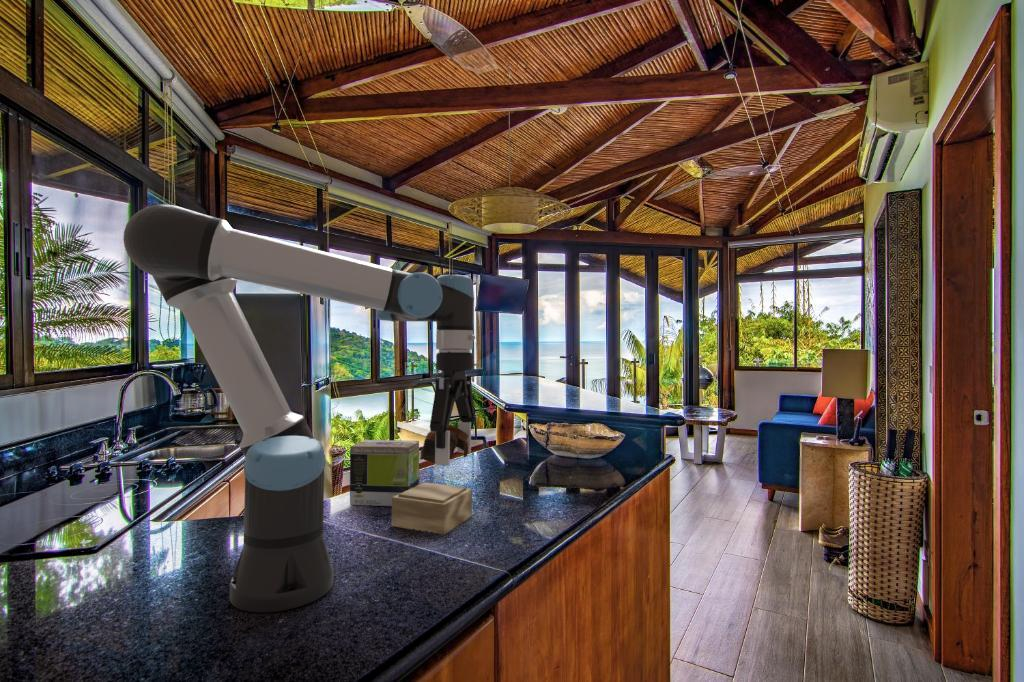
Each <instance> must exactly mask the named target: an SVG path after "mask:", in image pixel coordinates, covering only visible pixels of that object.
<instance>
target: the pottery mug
mask: <svg viewBox="0 0 1024 682" xmlns="http://www.w3.org/2000/svg"><path fill="white" fill-rule="evenodd" d="M447 431H450V460H452V458H453V456H454V452H455V449H456V448H458V447H459V448H461V449H462V450H463V451H464V453H463V457H464V458H466V457H467V456H468V454H469V453H468V443H467V439H468V435H467V434H466V433H465V432H463V431H462V430H460V429H458V427H456V426H453V425H450V424H449V426H448V430H447ZM421 460H424V461H426V462H430V463H433V464H435V431H431V430H430V431H429V432H428V433H427V434H426V435H425V439H424V442H423V447H422V449H421V450H420V456H419V461H421Z"/></svg>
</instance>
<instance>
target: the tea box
mask: <svg viewBox="0 0 1024 682" xmlns="http://www.w3.org/2000/svg"><path fill="white" fill-rule="evenodd" d="M349 461H350V462H349V505H350V506H370V505H371V506H374V507H377V506H379V507H392V497H394V496H396V495H398V494H400V493H402V492H405V491H407V490H409V489H411V488H413V487H416V486H418V485H420V441H419V440H391V439H390V440H386V439H384V440H383V439H382V440H381V439H378V440H377V439H364V440H362V441H360V442H357V443H355V444H353V445H350V449H349Z"/></svg>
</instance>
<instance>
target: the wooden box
mask: <svg viewBox="0 0 1024 682" xmlns="http://www.w3.org/2000/svg"><path fill="white" fill-rule="evenodd" d="M472 505H473V488H467V487H466V486H465V487H464V486H456V485H449V484H448V485H447V484H440V483H432V482H426V481H424V482H422V483H419V485H418V486H416V487H413V488H411V489H409V490H407V491H405V492H402V493H400V494H398V495H396V496H394V497H392V506H391V527H396V528H402V529H408V530H413V529H415V530H414V531H419V530H421V531H420V532H425V531H428V532H427V533H431V532H433V533H432V534H437V533H438V534H437V535H443V534H444V535H446V534H448V533H449V532H451V531H452V530H454V529H455V528H456V527H458V526H459V525H461V524H462V523H464V522H465V521H467V520H468V519H470V518H471V517H472V516H473V515H472V512H473V511H472V510H473V507H472Z"/></svg>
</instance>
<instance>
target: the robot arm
mask: <svg viewBox="0 0 1024 682" xmlns="http://www.w3.org/2000/svg"><path fill="white" fill-rule="evenodd" d="M123 245H124V248H125V251H126V254H127V256H128V257H129V259H130V260H131V262H132V263H134V265H135V266H137V267H138V268H139V269H140V270H141V271H142V272H145V273H147V274H149V275H151V276H152V278H153V280H154V282H155V283H156V285H157V288H158V290H159V292H160V293H161V295H162V297H163V300H164V301H165V303H166V304H167V306H169V307H172V308H175V309H177V310H180V311H181V313H182V315H183V316H184V318H185V320H186V322H187V324H188V326H189V328H190V330H191V332H192V334H193V336H194V338H195V340H196V342H197V343H198V346H199V348H200V350H201V353H202V354H203V356H204V358H205V360H206V362H207V364H208V366H209V368H210V369H211V371H212V374H213V376H214V378H215V380H216V382H217V383H218V386H219V388H220V390H221V391H222V393H223V396H224V398H225V400H226V401H227V403H228V405H229V407H230V409H231V411H232V413H233V415H234V417H235V419H236V421H237V423H238V425H239V427H240V429H241V431H242V434H243V435H242V438H241V441H240V443H239V448H240V451H241V452H242V454H243V456H244V458H245V461H244V463H243V473H244V504H243V505H244V510H243V511H244V512H243V514H244V515H243V544H242V550H241V552H240V554H239V558H238V560H237V562H236V566H235V568H234V572H233V575H232V577H231V580H230V583H229V602H230V604H231V605H232V606H233V607H234V608H236V609H239V610H241V611H245V612H249V613H273V612H282V611H288V610H291V609H296V608H299V607H304V606H305V605H308V604H310V603H313V602H315V601H317V600H319V599H321V598H323V596H325V595H327V594H328V593H329V592H330V590H331V589H332V587H333V586H334V573H335V572H334V566H333V563H332V562H331V558H330V554H329V551H328V547H327V545H326V541H325V538H324V507H325V506H324V504H325V503H324V502H325V501H324V500H325V498H324V497H325V496H324V495H325V493H324V492H325V468H326V464H327V463H326V462H327V461H326V460H327V458H326V455H325V448H324V446H323V444H322V443H321V442H320V440H317V438H315V437H314V435H313V433H312V431H311V428H310V427H309V425H308V422H307V420H306V419H305V417H304V415H302V414H299V413H296V412H293V411H292V410H291V408H290V406H289V404H288V402H287V400H286V398H285V396H284V394H283V392H282V390H281V388H280V386H279V384H278V382H277V379H276V377H275V376H274V374H273V372H272V370H271V367H270V365H269V363H268V361H267V360H266V358H265V356H264V353H263V352H262V351H263V350H262V349H261V348H260V347H261V346H260V345H259V343H258V341H257V339H256V337H255V335H254V333H253V331H252V329H251V327H250V324H249V322H248V320H247V318H246V317H245V314H244V312H243V310H242V308H241V307H240V304H239V302H238V301H237V298H236V296H235V293H234V290H235V288H236V286H237V283H238V280H239V281H244V282H248V283H253V284H257V285H262V286H267V287H271V288H275V289H281V290H284V291H289V292H294V293H299V294H302V295H307V296H312V297H318V298H322V299H326V300H331V301H334V302H340V303H345V304H350V305H355V306H359V307H362V308H368V309H373V310H375V313H376V318H377V319H378V320H380V321H384V322H385V321H387V322H388V321H389V322H393V323H394V322H428V323H430V322H431V323H434V322H435V323H436V334H435V340H436V341H435V349H436V350H438V352H437V353H436V354H435V357H436V359H435V364H436V365H435V367H436V370H437V371H439V372H440V371H441V372H443V373H442V374H443V375H442V377H441V378H440V377H436V378H435V391H434V398H433V403H432V411H431V417H430V423H429V429H430V431H435V463H434V465H435V466H450V460H451V459H450V431H447V430H448V426H449V425H450V421H451V418H452V413H453V409H454V406H455V405H456V411H457V413H458V417H459V421H457V428H458V429H460V430H462V431H463V432H465V433H466V434H467V435H468V439H467V443H468V453H467V454H471V452H472V423H475V422H476V410H475V403H474V395H473V387H472V375H471V374H466V372H470V371H472V370H473V368H474V354H473V352H471V350H473V348H474V340H475V339H476V335H474V304H475V303H474V301H475V298H474V296H475V295H474V294H475V293H474V283H473V282H474V281H473V279H472V278H471V277H469V276H467V275H462V274H442V275H439V276H438V277H437V278H436V277H434V276H433V275H431V274H429V273H427V272H420V271H418V272H412V273H411V272H408V271H403V270H399V269H394V268H392V267H388V266H382V265H379V264H375V263H371V262H366V261H363V260H358V259H355V258H351V257H348V256H343V255H340V254H336V253H331V252H328V251H327V252H326V251H324V250H319V249H315V248H311V247H307V246H304V245H300V244H296V243H292V242H287V241H283V240H280V239H275V238H272V237H267V236H263V235H259V234H255V233H251V232H247V231H244V230H243V231H242V230H238V229H234V228H233V227H232V226H231V225H230V224H229V222H228V221H227V220H225V219H223V218H219V217H218V218H217V217H215V216H211V215H207V214H205V213H204V214H203V213H202V212H201V213H200V212H198V211H194V210H191V209H187V208H184V207H181V206H177V205H172V204H154V205H150V206H146V207H144V208H142V209H140V210H139V211H137V212H136V213H134V214H133V215H132V216H131V217H130V218H129V219H128V222H127V223H126V225H125V227H124V231H123ZM457 453H461V454H464V451H463V450H462V449H461V448H459V447H457Z"/></svg>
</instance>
